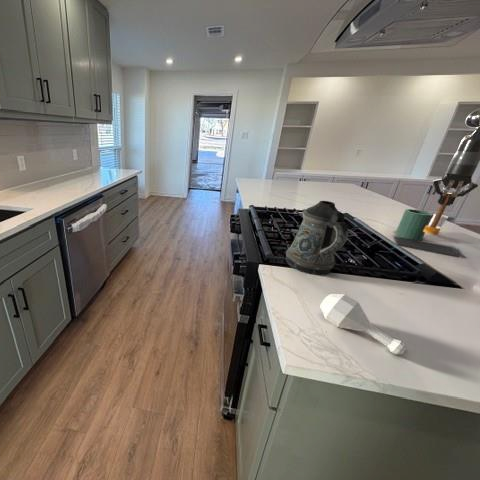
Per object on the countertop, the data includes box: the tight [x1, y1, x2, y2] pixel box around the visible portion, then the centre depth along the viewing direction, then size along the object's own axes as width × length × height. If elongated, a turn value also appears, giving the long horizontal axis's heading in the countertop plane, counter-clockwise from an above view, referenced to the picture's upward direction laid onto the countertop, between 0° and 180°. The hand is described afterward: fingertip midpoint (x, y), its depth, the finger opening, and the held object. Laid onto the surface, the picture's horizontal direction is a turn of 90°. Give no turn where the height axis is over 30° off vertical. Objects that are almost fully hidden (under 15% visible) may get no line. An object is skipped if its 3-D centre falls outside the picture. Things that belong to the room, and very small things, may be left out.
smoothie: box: [429, 213, 449, 228], centre depth 131 cm, size 6×6×14 cm
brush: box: [423, 192, 452, 236], centre depth 110 cm, size 5×5×18 cm
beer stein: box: [285, 200, 349, 276], centre depth 92 cm, size 16×19×25 cm
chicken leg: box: [319, 293, 406, 355], centre depth 64 cm, size 8×18×8 cm, turn 37°
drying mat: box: [393, 235, 460, 258], centre depth 117 cm, size 20×12×1 cm, turn 55°
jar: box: [394, 208, 435, 241], centre depth 125 cm, size 10×10×13 cm
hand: (444, 204), depth 109 cm, fingers closed on brush
